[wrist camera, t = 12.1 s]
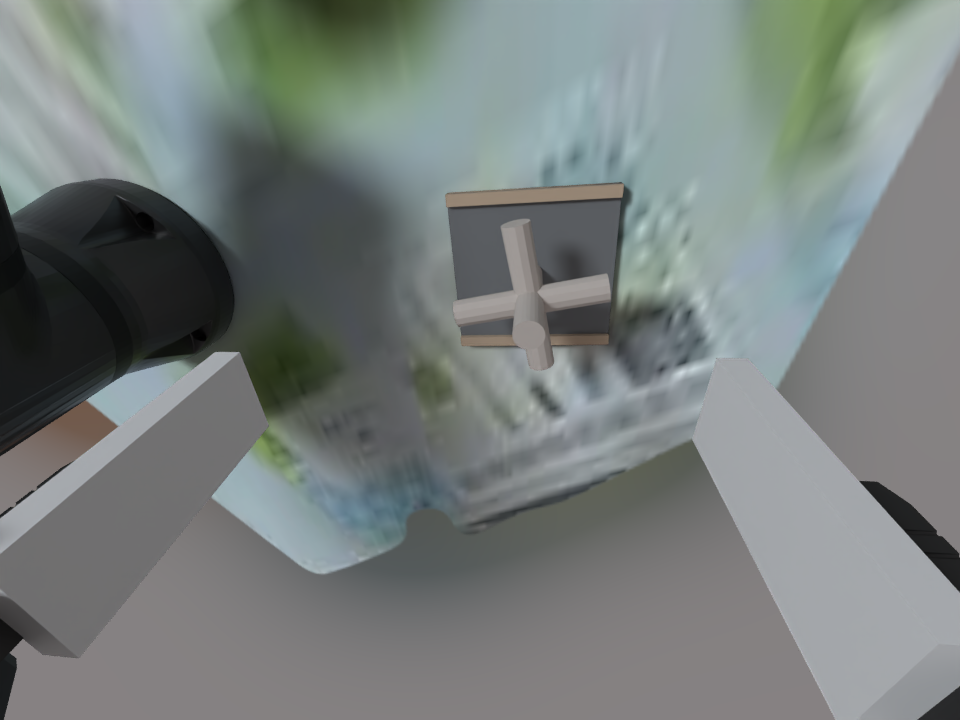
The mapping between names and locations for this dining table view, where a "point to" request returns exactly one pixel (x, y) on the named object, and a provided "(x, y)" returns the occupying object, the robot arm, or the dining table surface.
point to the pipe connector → (530, 297)
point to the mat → (537, 252)
